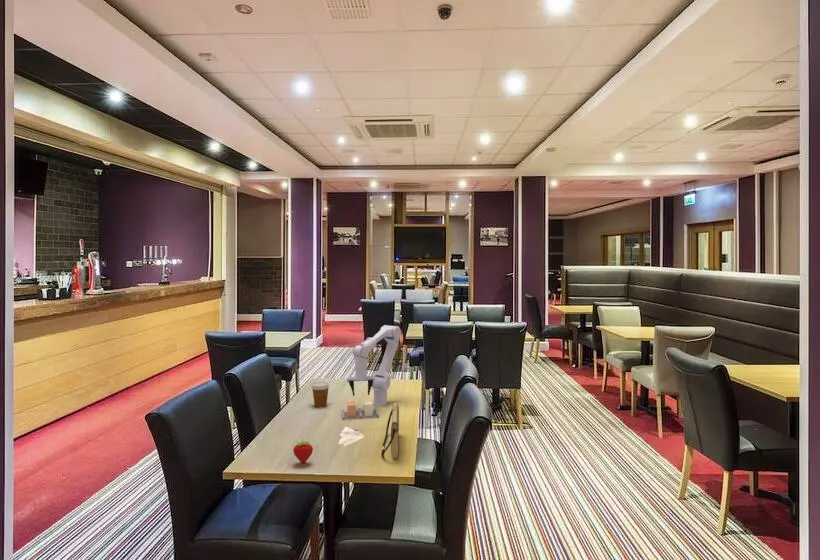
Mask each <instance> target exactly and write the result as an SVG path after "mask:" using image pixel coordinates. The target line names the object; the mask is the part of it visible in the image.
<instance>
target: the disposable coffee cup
mask: <svg viewBox="0 0 820 560" xmlns="http://www.w3.org/2000/svg"><path fill="white" fill-rule="evenodd" d="M329 387H330V384H329V383H328V382H325V381H323V382H322V381H321V382H313V383H312V385H311V390H312V396H313V403H314V407H315V408H317V407H319V408H320V407H322V408H326V407H327V405H328V395H329ZM325 406H326V407H325ZM320 409H321V408H320Z"/></svg>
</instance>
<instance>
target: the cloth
mask: <svg viewBox="0 0 820 560" xmlns="http://www.w3.org/2000/svg"><path fill="white" fill-rule="evenodd" d="M354 430H355V431H354ZM362 435H363V436H362ZM339 436H340V439H339V440H338V443H337V444H338V445H340V444H341V445H343V444H344V446H343V447H342V448H345V446H346V447H347V445H348V446H350V445H352V444H354V443H356V442H358V441H360V440H362V439H364V437H365V435H364V434H363V433H362V434H361V432H360V431H359V430H358V429H352V428H350V427H348V426H344V428H343V430H341V432H340V434H339ZM349 444H350V445H349Z"/></svg>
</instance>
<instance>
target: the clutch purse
mask: <svg viewBox="0 0 820 560" xmlns="http://www.w3.org/2000/svg"><path fill="white" fill-rule="evenodd" d="M399 410H400V407H399V404H398V402H396V401H395V402H393V404H392V409H391V411H390V413H389V416H388V420H387V425H386V430H385V436H384V438H383V439H384V440H383V443H382V446H384V449H383V450H382V449H381V455H385V453H386V451H387V450H388V448H390V449H391V450H390V452H391V453H390V454H391V457H392V458H393V459H395V460H396V459H398V456H399V452H400V451H399V432H400V411H399ZM390 422H391V423H390ZM390 424H391V425H390ZM390 426H391V427H390ZM389 428H390V440H389V442H388V444H387V445H386V441H387V439H388V434H389ZM385 445H386V447H385Z"/></svg>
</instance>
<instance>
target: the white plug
mask: <svg viewBox="0 0 820 560" xmlns="http://www.w3.org/2000/svg"><path fill="white" fill-rule="evenodd" d="M373 410H374V402H373V401H372V400H364V401H363V411H364V414H365V417H368V416H373Z"/></svg>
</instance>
